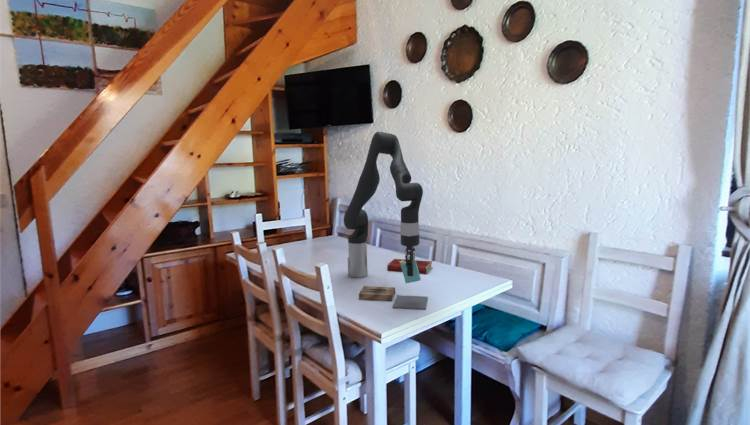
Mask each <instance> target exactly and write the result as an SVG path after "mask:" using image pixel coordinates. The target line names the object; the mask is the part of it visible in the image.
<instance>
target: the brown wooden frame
mask: <svg viewBox="0 0 750 425" xmlns="http://www.w3.org/2000/svg"><path fill="white" fill-rule="evenodd" d="M395 295H396V287H395V286H394V287H393V286H375V285H374V286H369V285H364V286H363V287H362V288H361V290H360V292H358V300H362V301H381V302H382V301H384V302H393V299H394V297H395Z"/></svg>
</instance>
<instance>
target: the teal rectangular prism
mask: <svg viewBox="0 0 750 425" xmlns="http://www.w3.org/2000/svg"><path fill="white" fill-rule="evenodd" d="M416 260H417V259H415V260H414V262H413V276H408V275H407V267H406V262H404V263H401V268H402V271H403V272H402V275H403V278H404V282H405V284H410V283H415V282H420V281H421V274H419V271H418V267H417V263H416ZM408 264H411V263H408Z"/></svg>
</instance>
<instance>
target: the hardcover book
mask: <svg viewBox="0 0 750 425" xmlns="http://www.w3.org/2000/svg"><path fill="white" fill-rule="evenodd" d="M415 260H416V263H417V267H418V271H419V274H420V275H428V273H429V272H430V270H431V269H432V263H433V260H418V259H415ZM404 262H406V258H405V259H404V258H393V259H392V260H391V261H390V262H388V263H387V265H386V270H387V272H393V273H394V272H395V273H403V271H402V268H401V263H404ZM428 271H429V272H428Z"/></svg>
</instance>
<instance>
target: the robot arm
mask: <svg viewBox="0 0 750 425" xmlns="http://www.w3.org/2000/svg"><path fill="white" fill-rule="evenodd" d="M369 144H370V145H369V149H368V152H367V156H366V160H365V163H364V165H363V169H362V171H361V173H360V176H359V179H358V182H357V183H356V184H357V185H356V187H355V190H354V192H353V195H352V198H351V200H350V202H349V205H348V207H347V209H346V210H345V214H344V215H343V225H344V227H345V228H346V229H348V230H353V232H352V233H351V234H350V235H349V236H348V237H347V245H348V248H347V249H348V257H347V276H348V277H349V278H350V277H351V278H355V279H359V278H365V277H368V272H369V270H368V244H367V243H368V242H367V241H368V239H367V238H368V236H369V216H368V213H367V211H366V210H364V209H363V207H364V206H365V205H366V204H367V203H368V202H369V201H370V200H371V199H372V197H373V196H374V195H375V194H376V191H377V189H378V186H379V185H380V181H381V179H380V172H379V169H378V165H377V160H378V156H379V154H383V155H389V156H390V157H391V158H392V160H391V163H390V165H389V172H390V175H391V177H392V179H393V181H394V185H395V196H396V198H397V199H398V200H399V201H400V202H410V203H409V205H407V206H404V207H402V208H401V209H400V227H399V228H400V245H401V246H402V247H406V248H405V250H404V258H405V259H406V267H407V275H408V276H413V262H414V260H416V248H415V247H417V246H419V245H420V244H421V243H420V223H419V216H420V215H419V211H420V206H421V204H422V203H421V202H422V198H423V195H424V190H423V189H424V188H423V187H422V185H421V183H419V182H411V181H412V174H411V173H410V170H409V169H408V167H407V165H406V163H405V160H404V156H403V152H402V148H401V145H400V142H399V138H398V137H397V136H396V135H395V134H394V133H391V132H390V133H389V132H383V131H376V132H375V133H374V134H373V136H372V139H371V141H370V143H369ZM408 263H411V264H408Z"/></svg>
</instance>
